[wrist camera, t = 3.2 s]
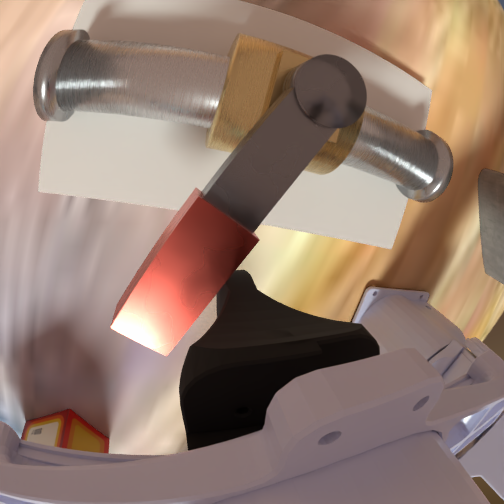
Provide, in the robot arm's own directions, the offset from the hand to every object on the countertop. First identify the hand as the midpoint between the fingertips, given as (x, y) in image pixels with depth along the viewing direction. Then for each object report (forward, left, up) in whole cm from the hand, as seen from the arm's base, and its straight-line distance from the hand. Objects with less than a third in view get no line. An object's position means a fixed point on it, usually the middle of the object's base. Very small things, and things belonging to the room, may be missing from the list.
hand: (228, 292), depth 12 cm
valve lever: (+1, -4, 0) cm, 4 cm away
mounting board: (-1, -8, -8) cm, 12 cm away
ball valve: (-1, -8, -8) cm, 12 cm away
